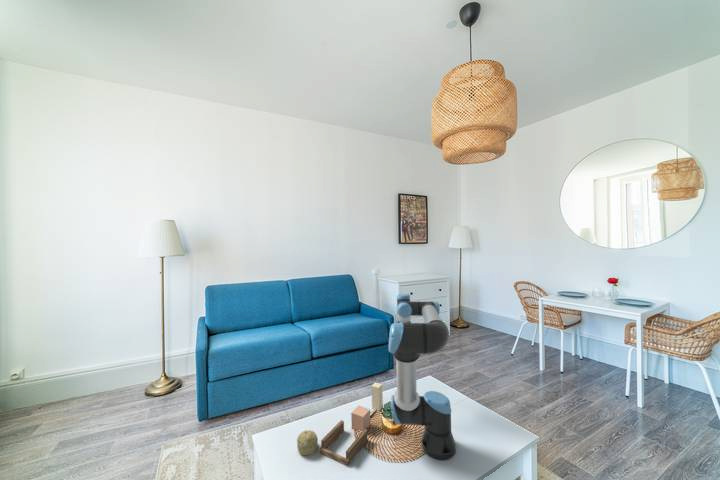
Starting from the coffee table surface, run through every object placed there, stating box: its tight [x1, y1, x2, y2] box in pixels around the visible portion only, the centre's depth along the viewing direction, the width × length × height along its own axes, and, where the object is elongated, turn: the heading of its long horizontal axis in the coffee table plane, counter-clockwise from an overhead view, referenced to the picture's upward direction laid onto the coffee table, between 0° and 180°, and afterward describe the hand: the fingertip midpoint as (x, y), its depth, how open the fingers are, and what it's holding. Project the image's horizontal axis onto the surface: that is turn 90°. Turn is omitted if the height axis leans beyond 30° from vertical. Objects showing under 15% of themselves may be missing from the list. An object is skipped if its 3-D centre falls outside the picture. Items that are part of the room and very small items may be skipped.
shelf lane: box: [319, 419, 368, 467], centre depth 129 cm, size 15×17×5 cm
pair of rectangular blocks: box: [350, 382, 384, 431], centre depth 149 cm, size 7×24×13 cm, turn 149°
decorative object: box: [296, 429, 319, 457], centre depth 128 cm, size 9×10×10 cm
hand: (405, 357), depth 161 cm, fingers open, 13 cm apart
